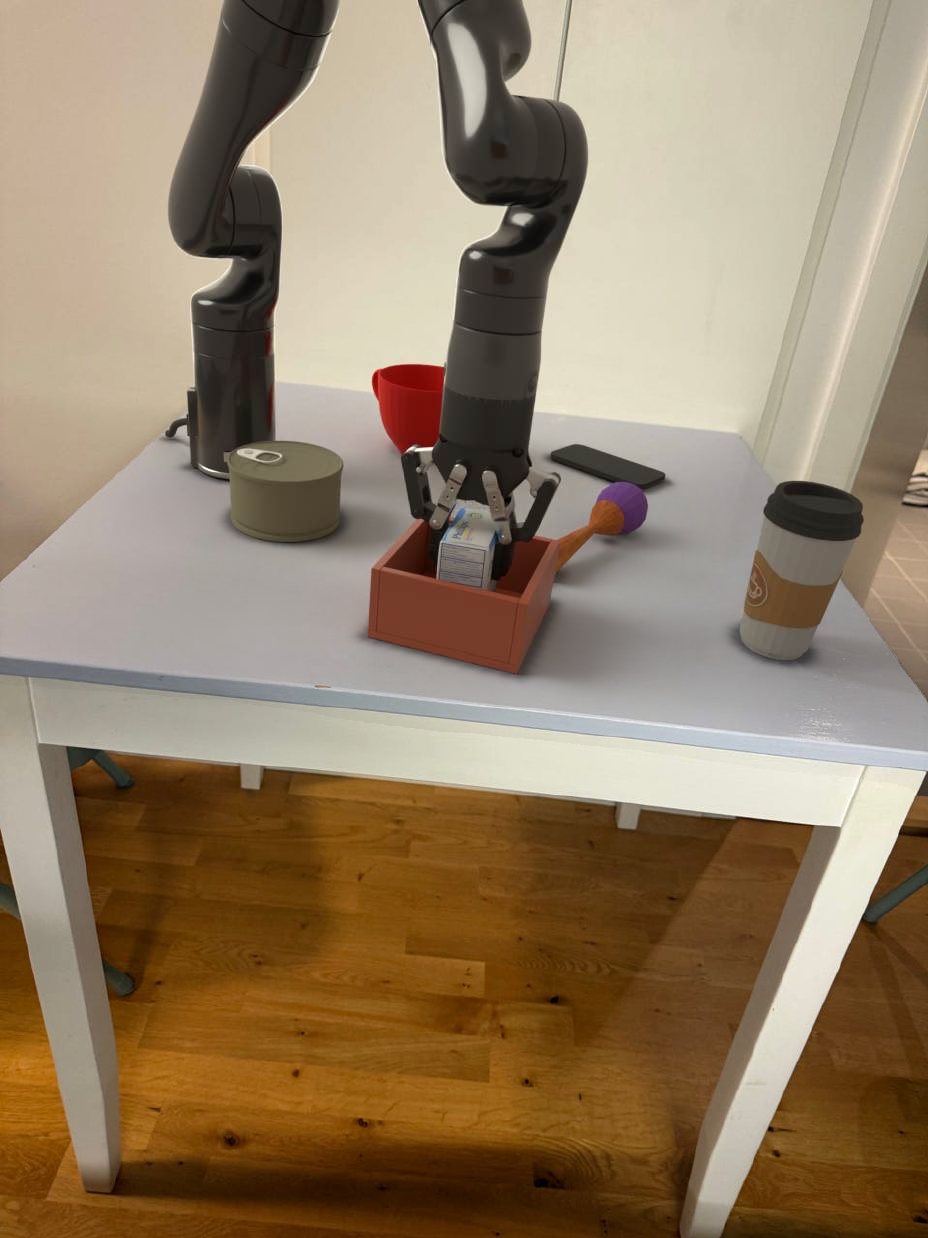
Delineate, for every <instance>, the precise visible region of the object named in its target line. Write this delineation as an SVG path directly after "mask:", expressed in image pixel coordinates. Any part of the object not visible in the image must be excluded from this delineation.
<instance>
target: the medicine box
mask: <svg viewBox="0 0 928 1238" xmlns="http://www.w3.org/2000/svg"><path fill="white" fill-rule="evenodd" d="M453 518H454V520H453V521H452V523H451V525H450V527H449V528H448V530H447V532H446V534H445V535H444V537H443V539H442V540H441V541H440V546H439V555H438V566H437V579H439V580H443V581H447V582H452V583H456V584H460V585H465V586H469V587H473V588H478V589H482V590H486V591H491V592H495V590H496V582H497V581H496V580H491V572H492V565H493V557H494V549H495V543H496V542H497V540H498V537H497V532H496V527H495V522H494V521H493V520H492V517H491V513H490V511H489V510H483V509H476V508H467V507H466V508H465V507H459V508H458V510H457V512H456V514H455V516H454V517H453Z"/></svg>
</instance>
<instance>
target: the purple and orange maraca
mask: <svg viewBox="0 0 928 1238" xmlns="http://www.w3.org/2000/svg"><path fill="white" fill-rule="evenodd" d="M648 511H649V502H648V498H647V496H646V494H645V493H644V491H643V489H640V488H638V487H637V486H636V485H633V484H630V483H627V482H613V483H611V484H610V485H608V486H606V487H604V488H603V489H602V490H601V491H600V492H599V494H598V495H597V497H596V501H595V503H594V505H593V506H592V508H591V511H590V516H589V521H588V525H585V526H584V527H581V528H579V529H576V530H574V531H572V532H570V533H568V534H566V535H562V536H561V537H559V538H556V540H559V541H560V547H559V553H558V558H557V564H556V570H555V574H556V573H557V572H558V571H559V570H560V569H562V567H563V566H564V565H566V564H567V562H569V560H570V559H571V558H572V557H573V556H574V555H575V554H576V553H577V552H578V551H579V550H580V549H581V548H582V547H583V546H584V545H585V544H586V543H587V542H588V541H589V540H590V539H591V537H593V536H594V535H601V536H607V537H608V536H616V535H629V534H631V533H633V532H635V531H636V530H638V529H639V528H640V527H641V526H642V525H643V524H644V523H645V521H646V520H647V515H648Z"/></svg>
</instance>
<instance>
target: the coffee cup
mask: <svg viewBox="0 0 928 1238" xmlns="http://www.w3.org/2000/svg"><path fill="white" fill-rule="evenodd" d="M863 508H864V506H863V503H862V501H861V500H860V499H859V498H858V497H856V496H855V495H853V494H851V493H849V492H848V491H845V490H844V489H840V488H838V487H835V486H831V485H827V484H824V483H819V482H815V481H806V480H788V481H787V480H786V481H783V482H780V483H779V484H778V485H776V487H775V489H774V492H773V493H771V494H770V495H768V497H767V500H766V504H765V505H764V506H763V509H762V510H763V511H762V514H763V515H764V516H763V520H762V525H761V529H760V534H759V539H758V543H757V548H756V550H755V551H754V557H753V562H752V567H751V571H750V575H749V580H748V585H747V590H746V594H745V598H744V605H743V612H742V617H741V621H740V625H739V634H740V639H741V642H742V644H744V646H745V647H747V648H748V649H749V650H750V651H752V652H754V653H755V654H758V655H759V656H762V657H765V658H769V659H772V660H777V661H794V660H796V659H799V658H801V657H802V656H803V654H805V653H807V651H808V650H809V648H810V647H811V643H812V641H813V639H814V637H815V634H816V632H817V630H818V627H819V625H820V624H821V623H822V620H823V619H824V616H825V613H826V611H827V609H828V607H829V604H830V603H831V600H832V599H833V595H834V593H835V590H836V588H837V586H838V584H839V582H840V579H841V578H842V575H843V571H844V568H845V565H846V563H847V560H848V558H849V555H850V553H851V551H852V549H853V547H854V544H855V542H856V539H857V538H859V537H860V535H861V534H862V526H863V524H864V521H865V519H864V515H863V514H862V513H863Z"/></svg>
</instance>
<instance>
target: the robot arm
mask: <svg viewBox="0 0 928 1238" xmlns="http://www.w3.org/2000/svg"><path fill="white" fill-rule="evenodd" d="M415 3H416V4H417V8H418V11H419V14H420V17H421V20H422V23H423V26H424V30H425V33H426V36H427V39H428V42H429V46H430V48H431V51H432V54H433V57H434V60H435V63H436V77H437V97H438V108H439V127H440V130H439V131H440V145H441V156H442V159H443V163H444V167H445V171H446V172H447V174H448V176H449V179H450V180H451V182H452V183H453V185H454V186H455V188H456V189H457V190H458V191H459V193H460V194H461V195H462V196H463V197H464V198H465V199H467V201H469V202H471V203H473V204H475V205H479V206H483V207H505V209H504V211H503V214H502V216H501V218H500V221H499V223H498V226H497V228H496V229H495V231H493V232H492V233H491V234H488V235H487V236H485V237H482V238H480V239H477V240H474V241H472V242H470V243H468V244H467V245H465V246H464V248H463V249H462V251H461V253H460V256H459V259H458V264H457V272H456V282H455V283H456V284H455V291H454V303H453V304H454V305H453V312H452V313H453V314H452V322H451V327H450V333H449V337H448V341H447V345H446V346H447V347H446V353H445V361H444V364H443V367H444V371H443V375H444V386H443V397H442V408H441V419H440V430H439V439H438V441H437V443H436V444H435V446H434V447H429V448H422V447H421V446H419V445H413V446H412V447H411V448H409V449H408V450H407V451H406V452H405V453H404V454H402V455H401V457H400V463H401V467H402V473H403V479H404V485H405V489H406V490H405V491H406V494H407V500H408V506H409V510H410V515H411V516H412V518H414V519H415V520H416V519H423V520H424V521H426V522H427V523H428V524H429V525H430V527H431V535H430V546H429V557H430V560H434V567H437V566H438V555H439V546H440V541H441V540H442V539H443V537H444V535H445V534H446V532H447V530H448V528H449V527H450V525H451V523H449V519H450V517H452V514H453V512H454V510H455V508H456V507H457V504H458V502H459V501H464V502H467V501H468V502H469V501H473V502H477V503H479V504H481V505H483V506H488V507H489V512H490V513H491V517H492V520H493V521H494V522H495V527H496V532H497V537H498V540H497V542H496V543H495V549H494V557H493V565H492V572H491V580H496V581H499V580H500V578H501V577H502V576H506V574H507V573H508V571H509V569H510V568H511V566H512V561H513V554H514V547H515V542H518V541H523V542H530V541H531V540H532V539H533V537H534V535H537V532H538V530H539V528H540V526H541V524H542V522H543V520H544V518H545V516H546V513H547V511H548V509H549V507H550V505H551V503H552V500H553V499H554V497H555V494H556V493H557V491H558V488H559V486H560V484H561V481H562V477H561V475H560V473H558V472H556V471H552V472H549V473H547V472H544V471H543V470H540V469H539V468H536V467H534V466H533V462H532V460H531V457H530V452H529V448H530V447H529V446H530V440H531V433H532V425H533V418H534V412H535V405H536V399H537V392H538V391H537V390H538V385H539V377H540V371H541V364H542V363H541V362H542V336H543V335H542V334H543V327H544V318H545V312H546V306H547V305H546V304H547V297H548V293H549V291H548V290H549V284H550V283H549V282H550V276H551V273H552V270H553V268H554V266H555V263H556V261H557V258H558V256H559V254H560V252H561V249H562V247H563V244H564V243H565V242H564V241H565V239H566V236H567V233H568V231H569V229H570V226H571V224H572V221H573V218H574V215H575V213H576V210H577V208H578V205H579V202H580V200H581V197H582V193H583V190H584V188H585V184H586V179H587V175H588V166H589V144H588V137H587V133H586V129H585V126H584V123H583V121H582V119H581V116H580V115H579V113H577V111H576V110H575V109H573V107H572V106H570V105H569V104H568V103H566V102H562V101H559V100H557V99H556V100H555V99H551V98H542V97H534V96H528V95H516V94H511V92H510V91H509V89H508V87H507V84H506V83H508V82H509V81H510V80H512V79H513V78H514V77H515V76H516V75H518V73H520V71H521V70H522V69H523V68H524V67H525V65H526V63H528V60H529V58H530V54H531V51H532V42H533V41H532V32H531V27H530V23H529V19H528V15H527V12H526V9H525V6H524V2H523V0H415ZM340 5H341V0H223V1H222V6H221V9H220V14H219V20H218V25H217V30H216V35H215V40H214V42H213V47H212V52H211V55H210V56H211V57H210V59H209V63H208V67H207V71H206V76H205V79H204V83H203V87H202V90H201V94H200V96H199V100H198V103H197V106H196V110H195V112H194V115H193V118H192V120H191V123H190V126H189V129H188V132H187V135H186V137H185V139H184V143H183V145H182V148H181V151H180V153H179V156H178V159H177V162H176V164H175V167H174V171H173V174H172V178H171V182H170V186H169V191H168V199H167V220H168V221H167V222H168V225H169V226H168V227H169V231H170V235H171V238H172V239H173V242H174V244H175V245H176V246H177V248H178V249H179V250H180V251H181V252H182V253H184V254H185V255H187V256H190V257H191V258H197V259H204V260H205V259H206V260H230V264H229V267H228V268H227V270H226V271H225V272H224V273H223V274H222V275H220V277H218V278H217V279H215V280H214V281H212V282H211V283H209V284H207V285H205V286H203V287H201V288H199V289H197V290H196V291H195V292H193V293H192V295H191V296H190V301H189V302H190V303H189V309H190V326H191V327H190V329H191V347H192V349H191V350H192V368H193V369H192V370H193V385H191V386H189V387H188V388H187V390H186V399H187V401H186V402H187V413H186V414H185V415H186V416H185V417H183V418H182V417H181V418H177V419H176V420H174V421H173V422H172V423H171V424H170V426H169V429H167V430H166V431H165V432H164V435H165V437H167V438H169V439H172V438H174V437H175V435H176V434H177V431H178V429H180V428H181V427H184V426H186V434H187V437H189V455H190V456H189V457H190V467H193V468H197V469H198V470H199V471H200V472H202V473H204V474H205V475H207V476H211V477H214V478H219V479H224V480H230V474H229V467H228V464H227V458H228V455H229V454H230V453H231V452H232V451H233V450H235V449H237V448H239V447H241V446H244V445H247V444H251V443H257V442H264V441H277V440H276V438H277V437H276V435H277V434H276V433H277V432H276V431H277V430H276V428H277V427H276V423H277V422H276V421H277V418H276V415H277V414H276V410H277V409H276V408H277V407H276V312H277V307H278V304H279V301H280V296H281V295H280V294H281V273H282V272H281V269H282V253H283V251H282V250H283V231H284V221H283V220H284V219H283V217H284V216H283V215H284V214H283V206H282V199H281V194H280V190H279V188H278V185H277V183H276V180H275V178H274V177H273V175H272V174H271V173H270V172H269V170H267V169H265V168H263V167H262V166H259V165H252V164H240V163H241V161H242V159H243V158H244V156H245V155H246V153H247V151H248V150H249V149H250V148H251V146H252V144H253V143H254V142H255V141H257V139H259V137H260V136H261V135H262V134H264V132H266V130H267V129H269V128H270V127H271V126H272V125H273V124H274V123H275V122H277V120H278V119H280V118H281V117H282V116H283V115H284V114H286V112H288V110H289V109H290V108H291V107H292V106H293V105H294V104H295V103H297V101H299V99H300V98H301V97H302V96H303V94H305V92H306V91H307V90H308V88H309V87H310V86H311V84H312V83H313V81H314V80H315V78H316V76H317V74H318V71H319V69H320V66H321V65H322V63H323V59H324V55H325V53H326V49H327V47H328V44H329V41H330V39H331V36H332V33H333V31H334V30H333V29H334V27H335V24H336V21H337V17H338V14H339V9H340ZM432 461H433V463H434V465H435V467H436V469H437V470H438V472H439V475H440V476H441V478H442V479H443V482H444V483H445V486H444V487H443V490H442V492H441V494H440V496H439V498H438V501H437V502H436V503H434V502H433V498H432V493H431V488H430V481H429V476H428V472H429V470H430V469H431V468H432ZM524 481H527V482H528V483H529V494H530V496H531V497H532V498H534V501H533V502H532V505H531V507H530V509H529V512H528V514H527V516H526V518H525V519H524V521H520V522H518V520H517V516H516V510H515V509H516V502H515V496H514V491H515V490H516V489H517V488H518V487H519V486H520V485H521V484H522V483H523V482H524Z"/></svg>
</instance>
